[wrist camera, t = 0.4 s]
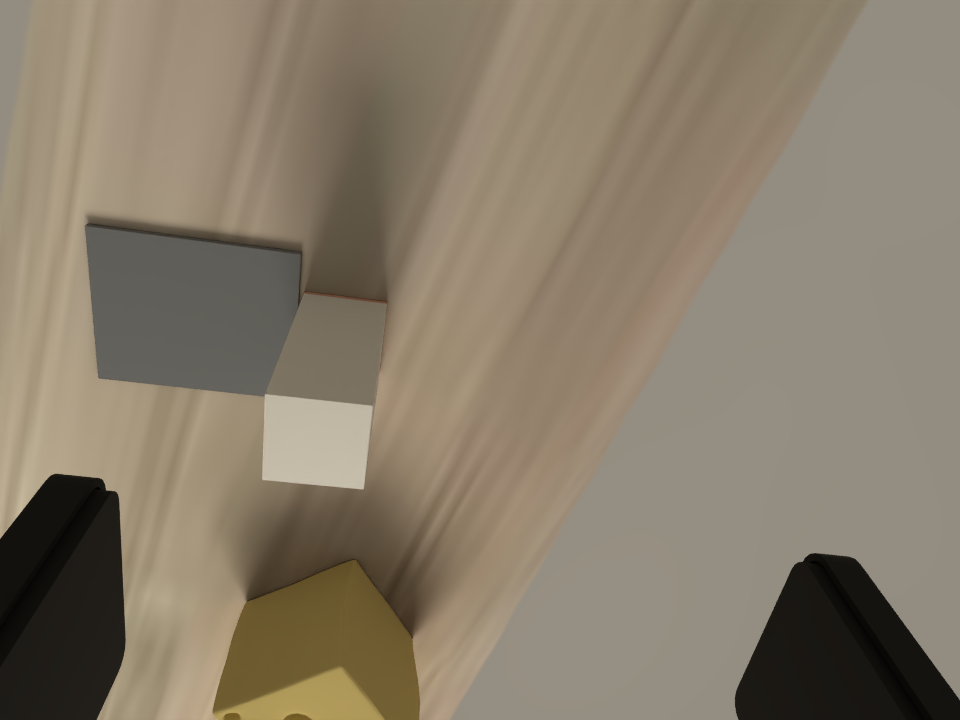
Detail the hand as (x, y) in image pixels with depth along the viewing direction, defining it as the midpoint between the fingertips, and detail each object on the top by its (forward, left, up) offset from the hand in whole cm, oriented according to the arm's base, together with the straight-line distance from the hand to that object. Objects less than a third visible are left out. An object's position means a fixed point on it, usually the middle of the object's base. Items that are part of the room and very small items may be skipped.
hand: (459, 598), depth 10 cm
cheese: (+39, -3, -35) cm, 53 cm away
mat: (+14, -13, -35) cm, 40 cm away
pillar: (+14, -4, -35) cm, 38 cm away
